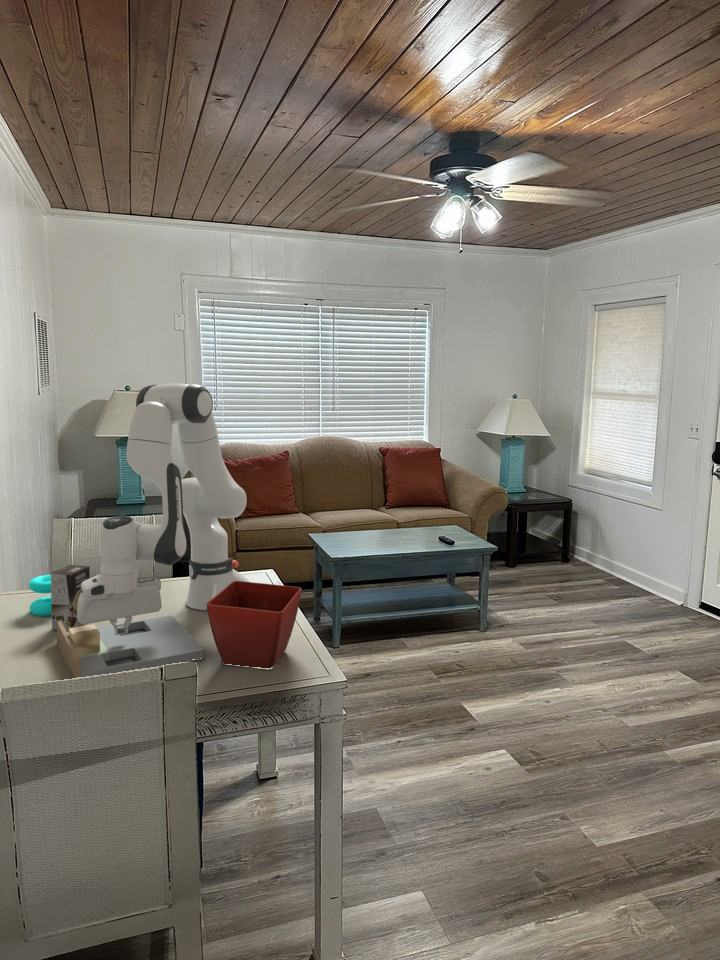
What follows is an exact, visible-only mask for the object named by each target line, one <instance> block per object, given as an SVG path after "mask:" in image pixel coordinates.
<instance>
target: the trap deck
mask: <svg viewBox="0 0 720 960" xmlns="http://www.w3.org/2000/svg"><path fill="white" fill-rule="evenodd" d="M115 624H116V626H121V625H123V624H124V622H120V623H115ZM96 627H97V629H98V631H99V632H100V652H95V653H90V654H84V655H78V653H77V651H76V649H75V647H74V645H73V643H72V641H71V639H70V637H69V631H66V629H65V627H64V625H63V624H62V622H61V620H60V621H57V629H56V638H57V639H56V640H57V641H56V643H57V645H58V647H59V650H60V651H61V654H62V656H63V658H64V661H65V662H67V663H66V664H68V665H67V667H68V669H69V668H70V669H69V671H70V670H71V671H70V673H71V676H72V675H73V676H72V677H73V679H74V678H77V677H86V676H93V675H101V674H109V673H117V672H122V671H129V670H135V669H142V668H150V667H157V666H161V665H166V664H172V663H179V662H187V661H192V662H196V661H195V660H192V659H196V660H197V659H200V658H204V659H205V649H204V648H203V647H202V646H201V645H200V643H198V642H197V641H196V640H195V639H194V637H192V635H191V634H190V633H189V632H188V631H187V629H185V628H184V627H183V625H181V624H180V622H179V621H177V620H176V618H175V617H174V616H173V615H171V614H169V615H164V616H157V617H152V618H145V619H139V620H134V621H133V620H132V621H131V623H130V624H129V626H128V633H125V634H119V635H115V632H114V627H113V625H112V624H108V625H103V626H102V625H101V626H96ZM197 661H198V660H197ZM187 663H188V662H187Z"/></svg>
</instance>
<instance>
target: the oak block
mask: <svg viewBox="0 0 720 960" xmlns="http://www.w3.org/2000/svg"><path fill="white" fill-rule="evenodd" d="M95 624H96V623H91V624H85V625H82V626H80V627H74V628H69V631H68V632H69V637H70V639H71V641H72V643H73V645H74V647H75V649H76V651H77V653H78V655H84V654H90V653H95V652H100V632H99V631H98V629H97V627H98V626H96V625H95Z"/></svg>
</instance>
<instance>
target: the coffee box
mask: <svg viewBox="0 0 720 960" xmlns="http://www.w3.org/2000/svg"><path fill="white" fill-rule="evenodd" d="M90 569H91V568H90V566H89V565H78V564H77V565H76V564H68V565H67V566H64V567H62V568H60V569H57V570H55V571H52V572H50V575H51V593H50V596H51V607H52V615H51V629H52V630H57V621H60V620H61V622H62V624H63V625H64V627H65V629H66V631H67V632H69V628H74V627H80V626H84V625H83V624H81V623H80V622H79V621H78V619H77V603H78V597H79V595H80V594H81V593H82V589H81V583H82V582H83V581H85V580H88V579H90V578H91V576H90V574H91V573H90Z"/></svg>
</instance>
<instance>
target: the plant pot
mask: <svg viewBox="0 0 720 960" xmlns="http://www.w3.org/2000/svg"><path fill="white" fill-rule="evenodd" d="M301 595H302V587H299V586H292V585H291V586H290V585H282V584H270V583H262V582H254V581H253V582H251V581H249V582H244V581H233V582H231V583H230V584H229V585H228V586H227V587H226V588H224V589H223V590H222V591H221V592H220V593H218V594H217V595H216V596H215V597H214V598H212V599H211V600H210V601H209V602H208V603H207V610H206V611H207V616H208V622H209V626H210V630H211V634H212V637H213V641H214V644H215V646H216V650H217V652H218V654H219V657H220V659H221V662H222V664H223V663H224V664H232V665H240V666H249V667H261V668H271V667H273V666H274V665H275V664H276V665H277V663H278V662H279V661H278V659H279V658H280V657H282V656H283V655H284V654H285V652H286V651H287V647H288V645H289V642H290V639H291V636H292V633H293V630H294V626H295V623H296V619H297V616H298V611H299V606H300V601H301V597H302V596H301ZM284 651H285V652H284ZM282 654H283V655H282ZM281 655H282V656H281ZM280 659H281V658H280ZM280 659H279V660H280ZM277 661H278V662H277ZM276 662H277V663H276ZM224 664H223V665H224ZM276 665H275V666H276ZM275 666H274V667H275Z"/></svg>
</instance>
